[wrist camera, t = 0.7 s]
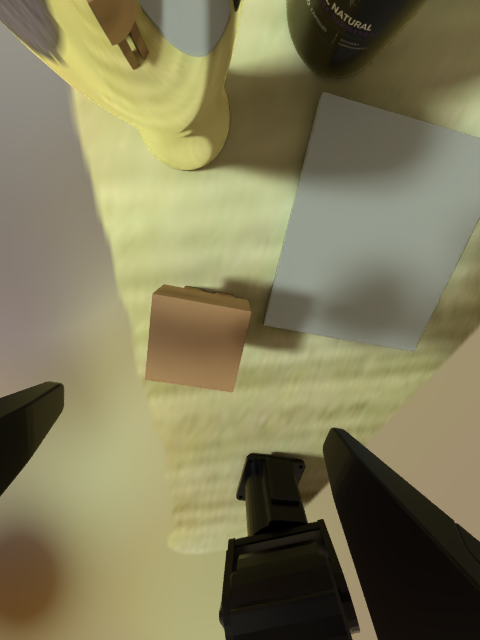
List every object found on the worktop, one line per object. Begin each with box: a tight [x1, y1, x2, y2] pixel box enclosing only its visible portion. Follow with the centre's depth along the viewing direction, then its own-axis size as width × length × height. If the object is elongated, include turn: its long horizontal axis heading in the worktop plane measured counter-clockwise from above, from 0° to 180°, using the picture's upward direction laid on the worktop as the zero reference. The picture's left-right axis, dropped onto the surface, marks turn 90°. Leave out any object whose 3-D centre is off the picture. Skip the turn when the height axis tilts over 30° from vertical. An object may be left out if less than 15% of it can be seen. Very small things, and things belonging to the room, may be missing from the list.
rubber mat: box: [263, 92, 480, 352], centre depth 19 cm, size 16×14×1 cm
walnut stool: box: [145, 284, 252, 392], centre depth 17 cm, size 6×6×6 cm
